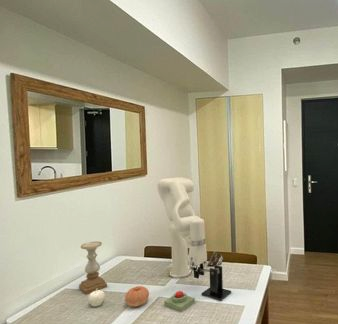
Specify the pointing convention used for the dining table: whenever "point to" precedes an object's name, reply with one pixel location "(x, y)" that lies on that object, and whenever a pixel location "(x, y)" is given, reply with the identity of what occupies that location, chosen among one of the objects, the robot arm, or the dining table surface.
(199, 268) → the lever
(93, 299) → the plain white apple
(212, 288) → the bracket
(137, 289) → the orange pumpkin
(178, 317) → the dining table surface
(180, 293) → the button
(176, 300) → the control block
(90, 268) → the candle holder
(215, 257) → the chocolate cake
